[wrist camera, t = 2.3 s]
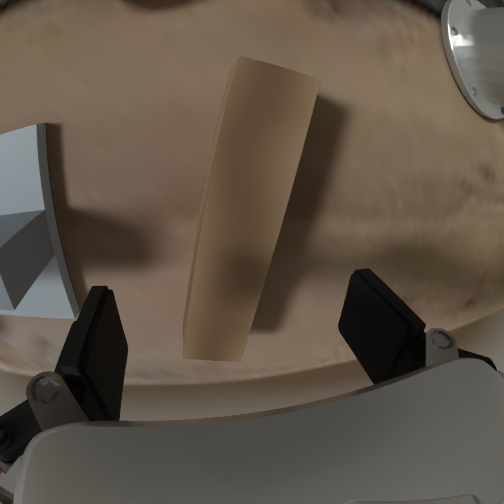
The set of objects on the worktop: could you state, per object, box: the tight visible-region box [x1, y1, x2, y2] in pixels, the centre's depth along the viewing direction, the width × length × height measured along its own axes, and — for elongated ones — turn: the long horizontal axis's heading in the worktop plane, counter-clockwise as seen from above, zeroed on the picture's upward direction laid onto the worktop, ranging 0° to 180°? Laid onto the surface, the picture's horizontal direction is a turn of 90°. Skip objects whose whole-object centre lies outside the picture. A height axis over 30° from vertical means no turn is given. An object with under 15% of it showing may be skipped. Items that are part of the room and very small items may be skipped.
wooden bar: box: [183, 57, 321, 362], centre depth 16 cm, size 4×18×4 cm, turn 167°
